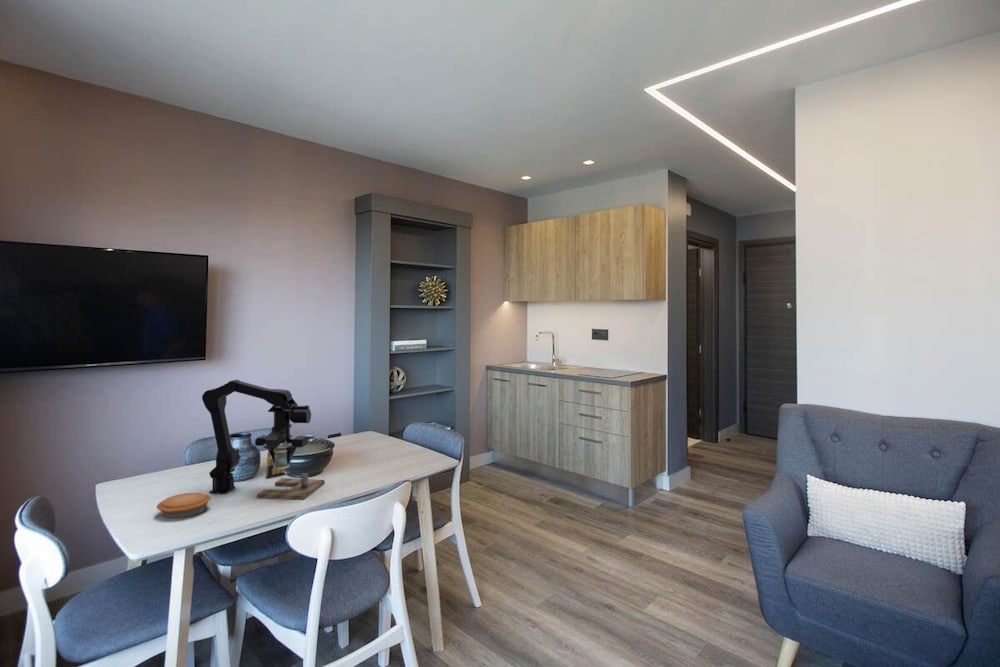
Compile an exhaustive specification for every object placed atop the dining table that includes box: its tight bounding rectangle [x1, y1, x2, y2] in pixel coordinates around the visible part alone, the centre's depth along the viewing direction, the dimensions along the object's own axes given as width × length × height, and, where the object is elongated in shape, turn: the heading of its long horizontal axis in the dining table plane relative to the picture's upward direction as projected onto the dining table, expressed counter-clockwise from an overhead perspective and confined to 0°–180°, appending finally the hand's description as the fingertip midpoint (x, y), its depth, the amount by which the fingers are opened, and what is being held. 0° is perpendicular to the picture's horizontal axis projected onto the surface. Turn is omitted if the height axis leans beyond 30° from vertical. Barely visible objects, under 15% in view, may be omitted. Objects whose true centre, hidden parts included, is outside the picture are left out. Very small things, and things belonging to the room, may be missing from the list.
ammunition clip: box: [265, 445, 288, 479], centre depth 207 cm, size 11×2×12 cm, turn 136°
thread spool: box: [273, 446, 290, 469], centre depth 189 cm, size 6×6×7 cm
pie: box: [156, 492, 212, 519], centre depth 167 cm, size 16×16×5 cm
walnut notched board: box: [255, 472, 326, 501], centre depth 189 cm, size 18×18×6 cm
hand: (281, 463), depth 189 cm, fingers closed on thread spool, 5 cm apart
